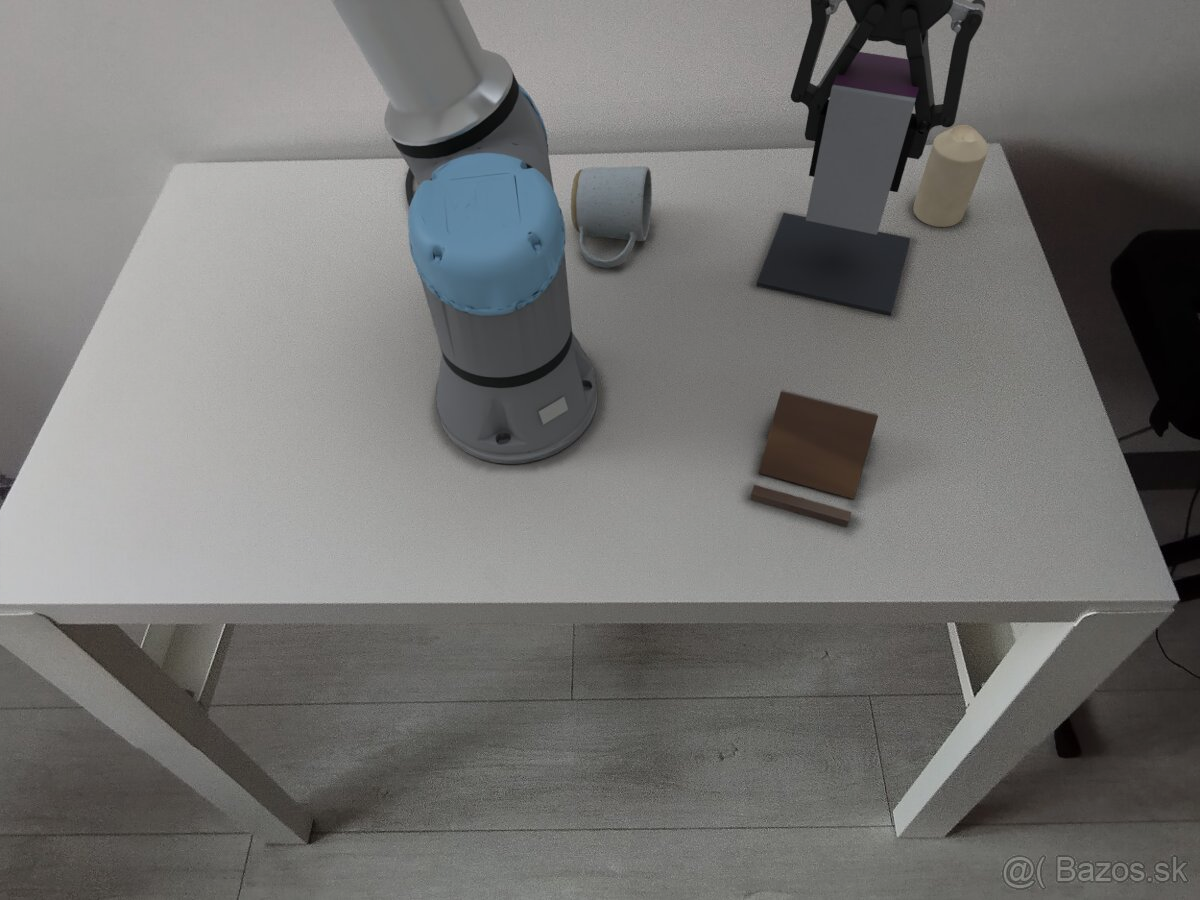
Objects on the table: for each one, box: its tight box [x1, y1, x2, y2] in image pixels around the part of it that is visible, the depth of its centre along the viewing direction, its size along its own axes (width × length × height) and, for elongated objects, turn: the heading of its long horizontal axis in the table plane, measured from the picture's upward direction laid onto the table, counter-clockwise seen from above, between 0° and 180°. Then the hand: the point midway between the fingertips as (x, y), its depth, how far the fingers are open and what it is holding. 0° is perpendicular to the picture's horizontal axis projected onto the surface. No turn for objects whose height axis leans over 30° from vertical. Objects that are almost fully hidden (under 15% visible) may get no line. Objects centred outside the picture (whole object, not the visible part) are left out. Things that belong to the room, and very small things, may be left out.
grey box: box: [805, 51, 919, 235], centre depth 79 cm, size 14×7×14 cm
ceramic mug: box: [570, 166, 653, 268], centre depth 91 cm, size 11×8×8 cm
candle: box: [912, 124, 990, 228], centre depth 91 cm, size 6×6×10 cm
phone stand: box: [749, 389, 879, 528], centre depth 73 cm, size 10×8×7 cm
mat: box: [756, 212, 911, 316], centre depth 90 cm, size 14×12×1 cm
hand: (855, 175), depth 82 cm, fingers closed on grey box, 7 cm apart
